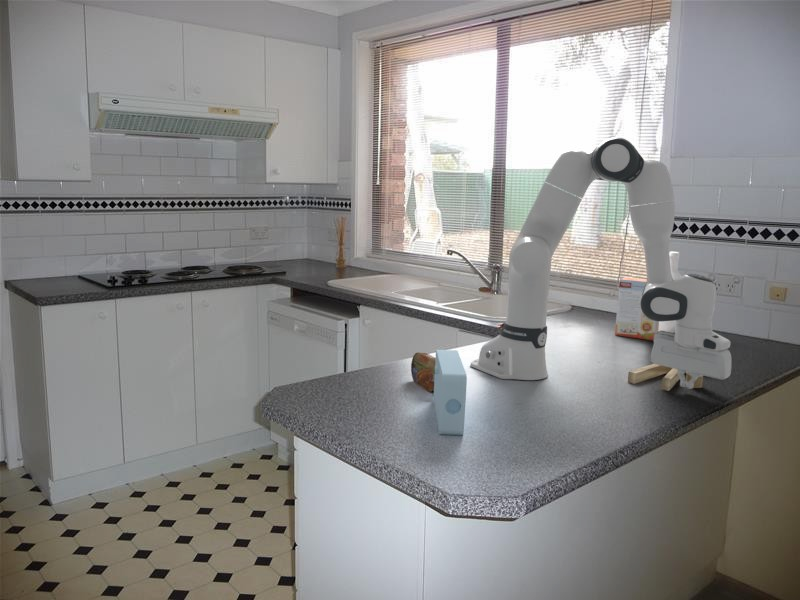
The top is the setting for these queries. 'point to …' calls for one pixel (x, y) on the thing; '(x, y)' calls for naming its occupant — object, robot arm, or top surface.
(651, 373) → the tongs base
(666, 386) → the tong arm
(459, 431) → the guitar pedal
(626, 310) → the cracker box
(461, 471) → the top surface
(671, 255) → the bottle
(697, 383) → the sprinkles bottle
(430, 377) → the tin
